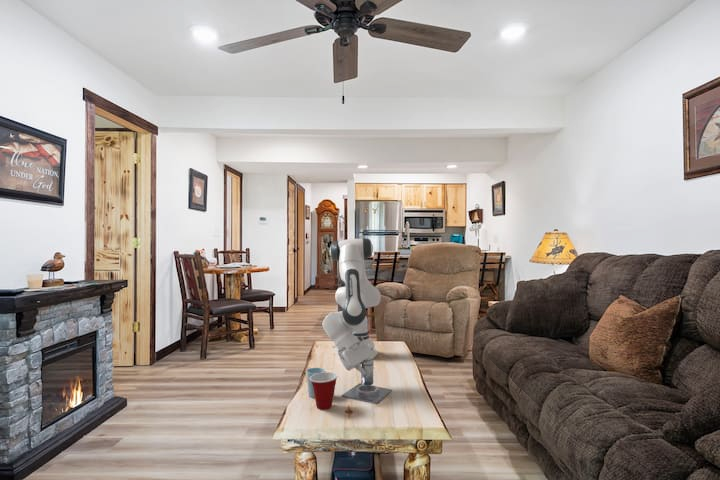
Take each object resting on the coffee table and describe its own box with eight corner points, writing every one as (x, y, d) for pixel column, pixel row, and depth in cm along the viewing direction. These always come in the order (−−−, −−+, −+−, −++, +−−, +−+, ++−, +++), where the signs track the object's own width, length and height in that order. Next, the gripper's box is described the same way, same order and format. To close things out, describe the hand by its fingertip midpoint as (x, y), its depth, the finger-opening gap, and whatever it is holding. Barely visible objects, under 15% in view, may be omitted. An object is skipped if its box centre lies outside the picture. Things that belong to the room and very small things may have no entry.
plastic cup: (310, 401, 160) (310, 371, 160) (337, 400, 161) (337, 370, 161) (308, 413, 149) (308, 380, 149) (337, 412, 150) (337, 380, 150)
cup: (326, 398, 164) (326, 372, 164) (307, 400, 162) (307, 374, 162) (323, 391, 171) (323, 367, 171) (305, 393, 169) (305, 368, 169)
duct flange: (359, 384, 179) (359, 379, 180) (392, 390, 172) (392, 385, 172) (341, 396, 165) (341, 391, 165) (376, 404, 158) (376, 398, 158)
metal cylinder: (364, 380, 172) (364, 359, 172) (375, 382, 170) (375, 361, 170) (358, 384, 167) (359, 362, 168) (370, 386, 165) (370, 364, 165)
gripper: (341, 346, 163) (362, 374, 158) (363, 336, 181) (383, 361, 176) (331, 355, 165) (352, 383, 160) (354, 345, 183) (374, 369, 178)
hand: (368, 371), depth 168 cm, fingers closed on metal cylinder, 5 cm apart
